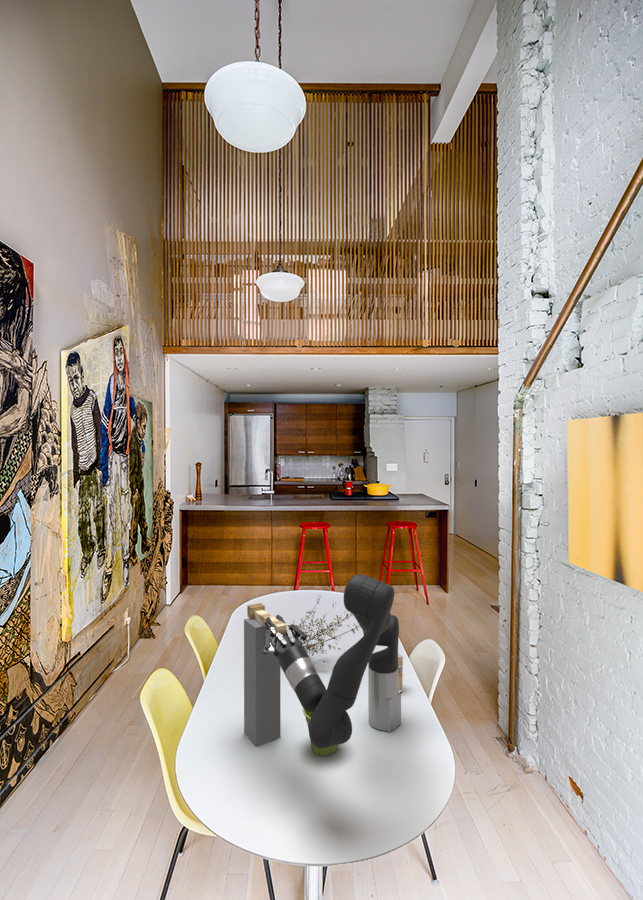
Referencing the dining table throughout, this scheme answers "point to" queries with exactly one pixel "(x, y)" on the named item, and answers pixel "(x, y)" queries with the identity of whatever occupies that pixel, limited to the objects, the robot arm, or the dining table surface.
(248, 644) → the plinth
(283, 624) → the hanging bar
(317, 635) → the dried plant
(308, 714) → the plant pot
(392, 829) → the dining table surface
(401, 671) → the supplement box
